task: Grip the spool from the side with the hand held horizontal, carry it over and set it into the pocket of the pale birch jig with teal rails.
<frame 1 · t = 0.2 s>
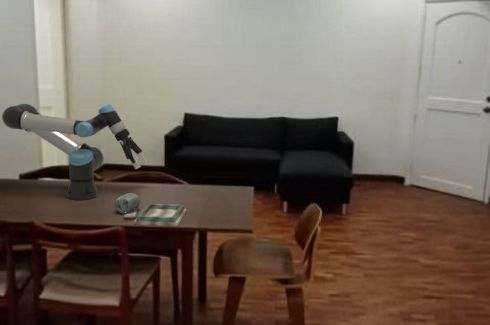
hand: (141, 165, 289), 14 cm above the table, fingers open, 13 cm apart
spool: (127, 211, 258), on the table
jig: (161, 217, 248), on the table
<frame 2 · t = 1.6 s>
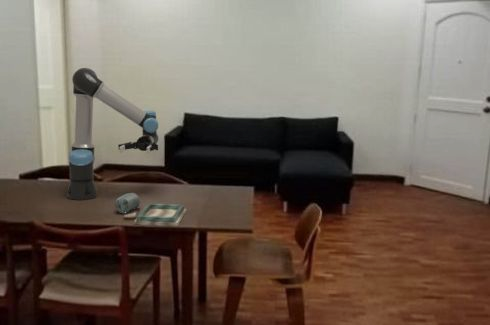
hand: (133, 150, 267), 26 cm above the table, fingers open, 13 cm apart
nothing on the table moved.
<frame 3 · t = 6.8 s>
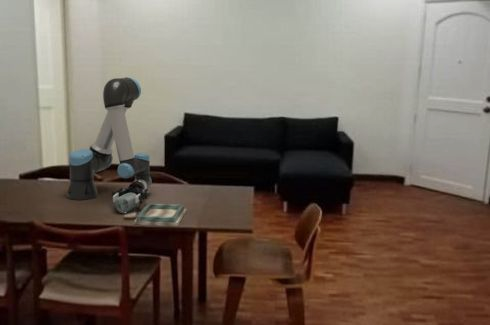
hand: (124, 199, 253), 7 cm above the table, fingers closed on spool, 10 cm apart
spool: (127, 211, 258), on the table, touching gripper
when the fingers open (9 cm above the table, at t = 12.3 s): spool drops 1 cm, resting on jig.
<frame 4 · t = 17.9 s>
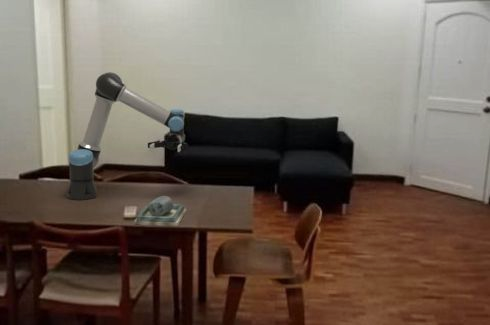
hand: (164, 148, 264), 28 cm above the table, fingers open, 13 cm apart
spool: (161, 215, 248), point 1 cm above the table, touching jig
at the end: spool 0.0 cm off-centre on the jig, point 1.3 cm above the jig's base; spool touching jig; the gripper is holding nothing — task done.
